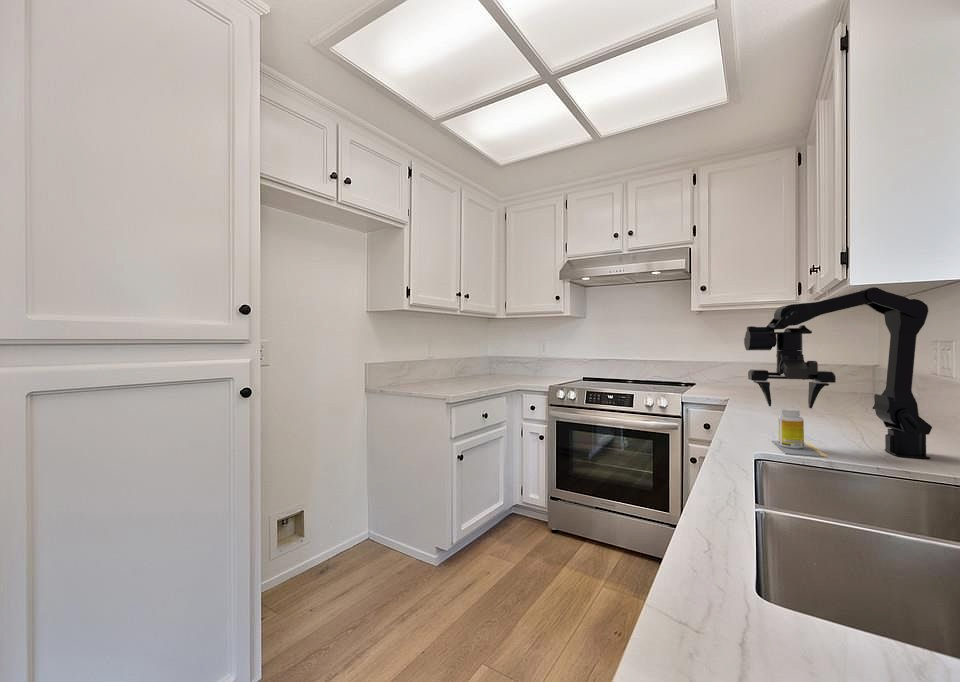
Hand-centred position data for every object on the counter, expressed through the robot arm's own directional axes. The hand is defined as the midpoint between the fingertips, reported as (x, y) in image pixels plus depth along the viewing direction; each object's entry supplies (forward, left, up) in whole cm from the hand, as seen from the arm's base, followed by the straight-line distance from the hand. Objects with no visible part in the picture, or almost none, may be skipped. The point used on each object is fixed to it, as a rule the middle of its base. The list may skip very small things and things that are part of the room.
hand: (789, 407), depth 116 cm
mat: (-1, +1, -11) cm, 11 cm away
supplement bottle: (0, 0, -11) cm, 11 cm away
